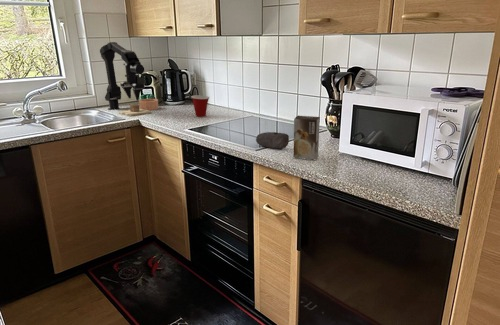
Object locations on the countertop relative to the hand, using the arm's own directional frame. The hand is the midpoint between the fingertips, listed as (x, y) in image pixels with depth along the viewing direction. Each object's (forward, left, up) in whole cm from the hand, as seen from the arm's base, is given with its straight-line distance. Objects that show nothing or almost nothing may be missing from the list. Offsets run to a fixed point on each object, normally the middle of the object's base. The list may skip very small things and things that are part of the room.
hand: (133, 99), depth 231 cm
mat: (0, 0, -9) cm, 9 cm away
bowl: (-7, +15, -9) cm, 19 cm away
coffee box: (+129, +1, -10) cm, 129 cm away
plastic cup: (+35, +24, -10) cm, 44 cm away
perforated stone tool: (+110, +2, -10) cm, 111 cm away
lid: (0, 0, -9) cm, 9 cm away
